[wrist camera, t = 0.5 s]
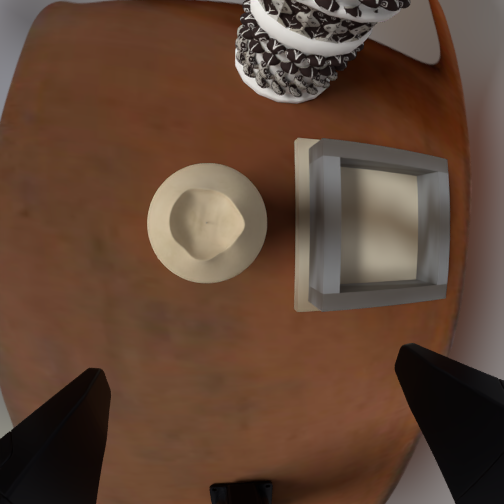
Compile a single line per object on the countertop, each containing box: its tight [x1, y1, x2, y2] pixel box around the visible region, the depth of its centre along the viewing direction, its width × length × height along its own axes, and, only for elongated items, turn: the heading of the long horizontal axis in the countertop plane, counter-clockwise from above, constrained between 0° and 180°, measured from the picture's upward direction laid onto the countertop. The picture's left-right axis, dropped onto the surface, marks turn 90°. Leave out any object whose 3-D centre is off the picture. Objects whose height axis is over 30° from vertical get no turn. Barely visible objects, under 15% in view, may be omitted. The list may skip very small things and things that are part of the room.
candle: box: [147, 163, 267, 283], centre depth 17 cm, size 6×6×10 cm
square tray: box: [294, 138, 450, 312], centre depth 22 cm, size 13×13×4 cm
